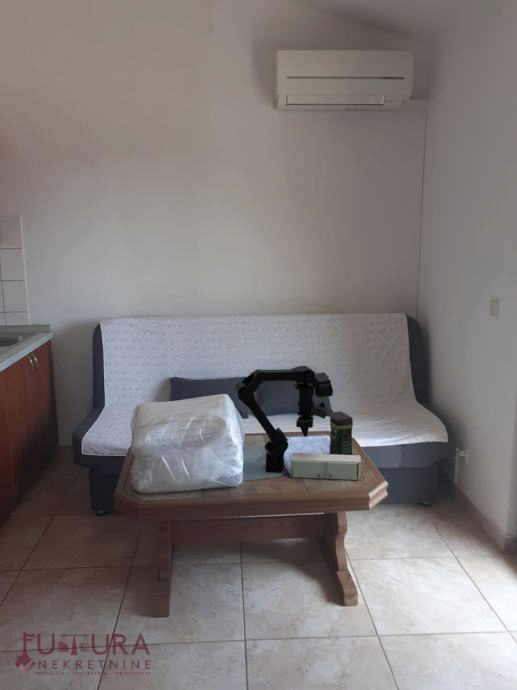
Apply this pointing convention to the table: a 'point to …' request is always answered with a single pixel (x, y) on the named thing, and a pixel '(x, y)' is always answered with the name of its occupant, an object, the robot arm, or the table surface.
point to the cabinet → (334, 464)
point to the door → (307, 469)
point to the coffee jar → (341, 434)
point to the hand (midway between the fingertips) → (305, 436)
